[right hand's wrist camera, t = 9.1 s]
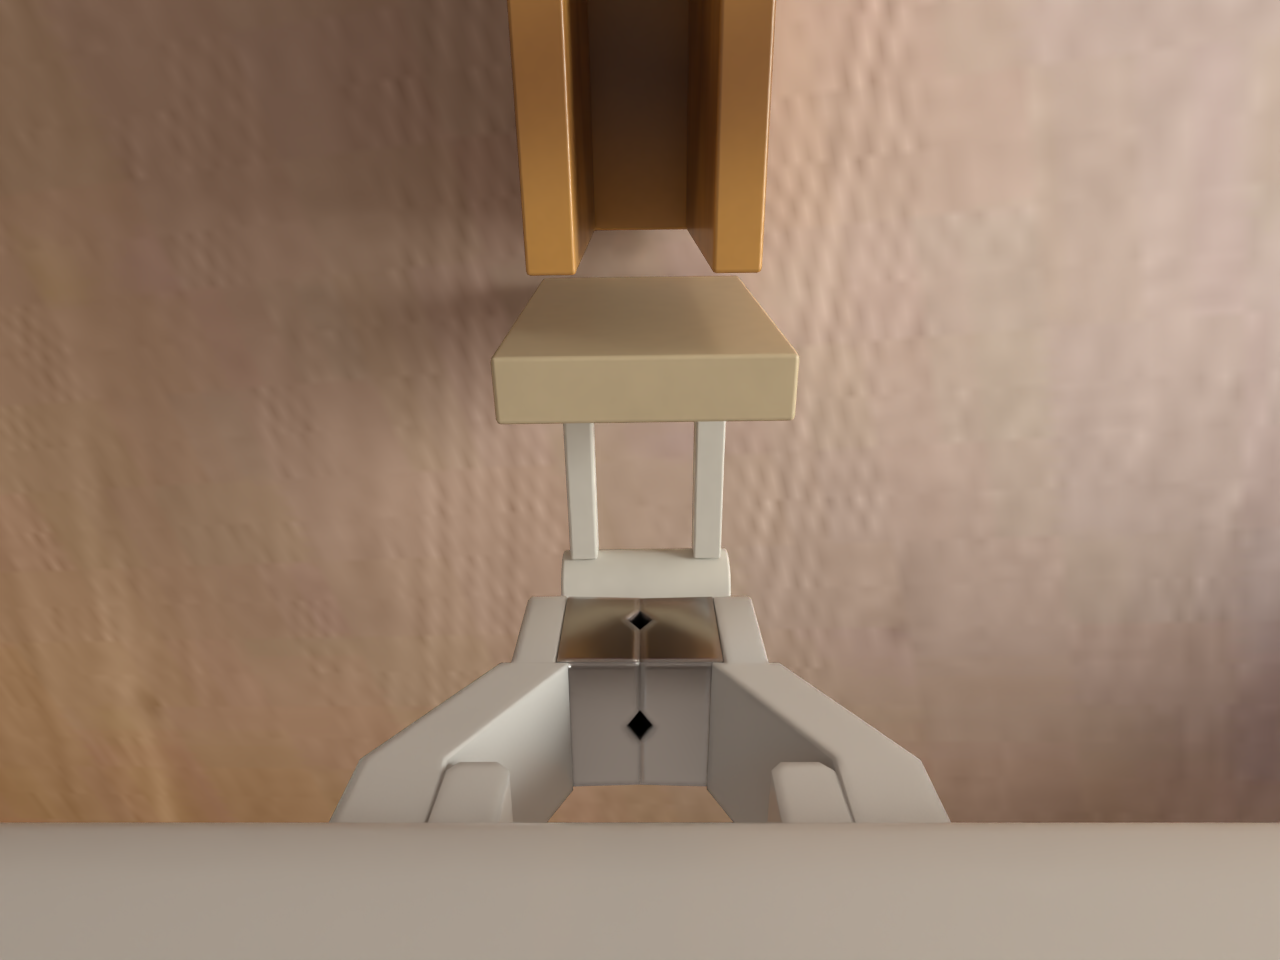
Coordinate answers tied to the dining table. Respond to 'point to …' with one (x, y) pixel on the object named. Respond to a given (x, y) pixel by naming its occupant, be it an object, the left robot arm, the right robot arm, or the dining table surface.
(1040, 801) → the dining table surface
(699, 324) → the drawer
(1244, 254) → the dining table surface
